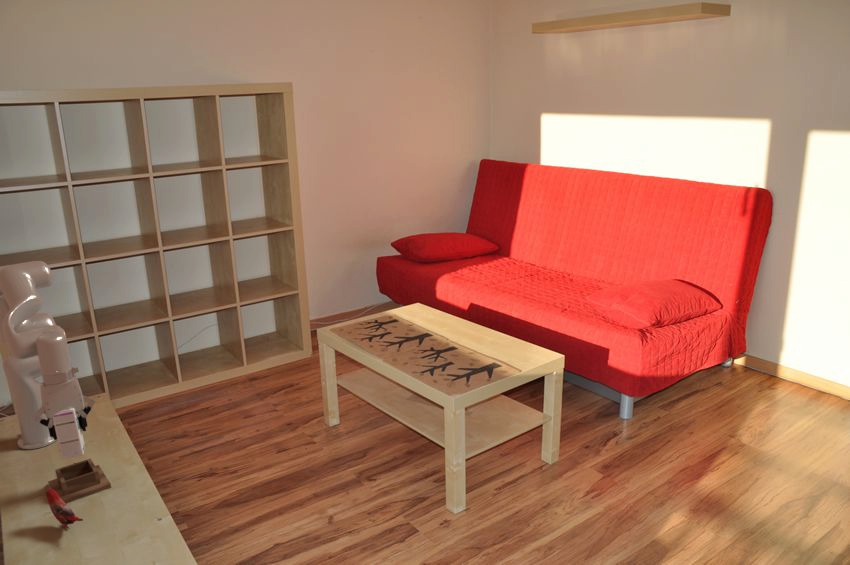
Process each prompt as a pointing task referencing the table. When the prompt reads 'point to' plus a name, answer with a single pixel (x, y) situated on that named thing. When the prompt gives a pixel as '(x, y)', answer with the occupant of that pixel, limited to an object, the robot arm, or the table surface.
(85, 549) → the table surface
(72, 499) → the stand
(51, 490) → the decorative bird figurine
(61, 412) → the syrup box
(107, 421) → the table surface
